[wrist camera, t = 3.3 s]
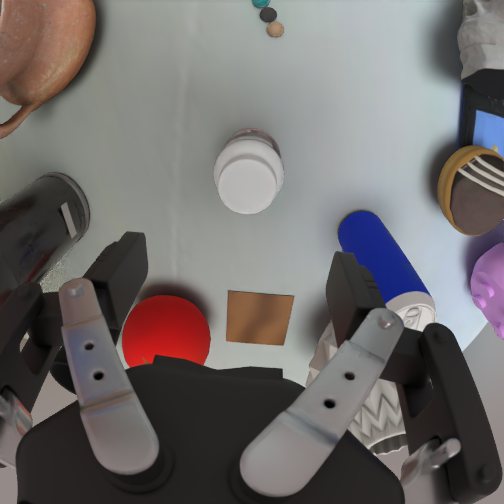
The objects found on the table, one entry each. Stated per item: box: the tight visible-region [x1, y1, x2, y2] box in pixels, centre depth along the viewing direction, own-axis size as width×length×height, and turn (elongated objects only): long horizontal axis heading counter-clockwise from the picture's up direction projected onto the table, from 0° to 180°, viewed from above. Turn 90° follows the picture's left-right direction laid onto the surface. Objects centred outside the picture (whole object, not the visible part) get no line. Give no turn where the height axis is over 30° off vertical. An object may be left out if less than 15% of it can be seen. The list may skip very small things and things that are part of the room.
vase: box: [306, 320, 431, 456], centre depth 31 cm, size 16×16×18 cm
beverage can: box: [338, 211, 436, 332], centre depth 26 cm, size 5×5×15 cm
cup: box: [50, 326, 122, 395], centre depth 36 cm, size 8×8×12 cm
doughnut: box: [438, 144, 504, 236], centre depth 24 cm, size 9×4×10 cm
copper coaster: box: [226, 291, 294, 346], centre depth 39 cm, size 8×9×1 cm
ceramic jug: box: [0, 0, 96, 139], centre depth 15 cm, size 18×14×14 cm
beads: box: [253, 0, 284, 37], centre depth 20 cm, size 8×2×1 cm, turn 23°
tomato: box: [122, 295, 211, 368], centre depth 35 cm, size 10×11×11 cm
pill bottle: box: [213, 129, 284, 214], centre depth 24 cm, size 5×5×10 cm
